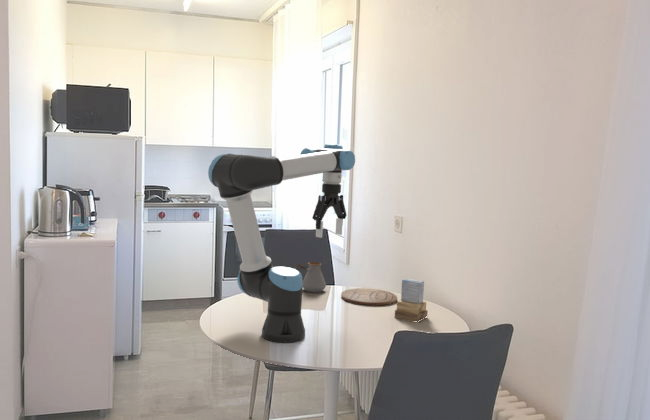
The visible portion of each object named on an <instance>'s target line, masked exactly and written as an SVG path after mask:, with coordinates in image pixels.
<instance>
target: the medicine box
mask: <svg viewBox="0 0 650 420" xmlns="http://www.w3.org/2000/svg"><path fill="white" fill-rule="evenodd" d="M424 287H425V281H424V280H420V279H415V278H408V277H405V278H403V279H402V280H401V293H400V294H401V298H400V300H401V301H406V302H411V303H417V304H420V303H421V302H423V301H424V290H425V288H424Z"/></svg>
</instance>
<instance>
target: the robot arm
mask: <svg viewBox="0 0 650 420" xmlns="http://www.w3.org/2000/svg"><path fill="white" fill-rule="evenodd" d="M323 147H324V148H316V147H305V148H303V149H302V150H301V152H300V154H299V155H293V156H287V157H286V156H285V157H278V156H275V155H271V156H259V155H258V156H257V155H249V154H235V153H234V154H233V153H223V154H222V153H221V154H220V155H217V156H216V157H214V159H212V160H211V162H210V165H209V166H208V171H207V174H208V179H209V182H210V183H211V185H213V186H214V187H216V188H217V189H218V192H219V196H220V198H221V199H223V200H224V201H225V202H226V205H227V209H228V212H229V216H230V220H231V224H232V227H233V231H234V236H235V239H236V242H237V246H238V250H239V254H240V257H241V261H242V262H241V263H240V264H239V270H238V275H237V277H236V280H237V284H238V288H239V289H240V291H241V292H243V293H244V294H245V295H246V296H249V297H252V298H254V299H255V298H256V299H258V300H262V301H264V302H266V303H267V314H266V317H265V320H264V323H263V326H262V328H261V337H262V338H263V339H265V340H267V341H270V342H275V343H282V344H283V343H285V344H286V343H296V342H299V341H302V340H304V339H305V338H306V328H305V324H304V322H303V317H302V300H303V289H304V288H303V274H302V273H301V272H300V271H299V270H297V269H296V268H294V267H293V268H292V267H288V266H283V265H282V266H279V265H278V266H273V261H272V259H271V257H270V256H267V255H266V251H265V248H264V243H263V239H262V236H261V231H260V227H259V223H258V219H257V215H256V211H255V208H254V207H255V206H254V204H253V199H252V196H251V194H252V193H253V191H255V190H260V189H264V188H268V187H272V186H273V187H274V186H277V185H280V184H281V183H282V182H283V181H286V180H292V179H293V180H294V179H298V178H303V177H308V176H313V175H318V174H322V179H321V180H322V185H321V193H323V195H318V199H317V202H316V206H315V209H314V212H313V214H312V220H313V221H315V237H316V238H319V239H321V238H323V230H324V221H323V218H324V217H325V216H326V213H327V211H328V209H329V208H331V207H332V209H333V211H334V212H335V214H336V217H337V218H336V219H335V220H336V221H335V235H339V236H341V235H343V224H344V223H343V222H344V220H346V218H347V216H348V215H347V211H346V207H345V202H344V195H343V194H341V192H342V184H341V183H342V172H343V171H350V170H352V169H353V168H354V166H355V163H356V156H355V153H354V151H352V150H350V149H344V148H343V147H344V146H343V145H342V144H335V143H334V144H333V143H332V144H331V143H327V144H324V146H323Z"/></svg>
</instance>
